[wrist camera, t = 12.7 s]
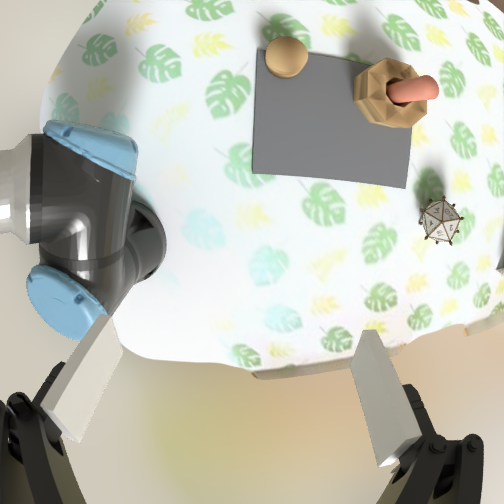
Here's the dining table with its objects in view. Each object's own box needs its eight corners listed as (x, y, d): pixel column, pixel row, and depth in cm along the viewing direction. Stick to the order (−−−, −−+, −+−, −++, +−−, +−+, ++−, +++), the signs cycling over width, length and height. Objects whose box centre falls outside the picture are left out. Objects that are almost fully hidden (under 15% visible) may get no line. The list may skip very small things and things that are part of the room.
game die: (412, 208, 46) (408, 208, 39) (446, 189, 41) (450, 184, 33) (431, 250, 45) (431, 259, 37) (466, 231, 40) (474, 236, 32)
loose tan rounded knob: (264, 77, 35) (265, 70, 30) (265, 45, 32) (266, 35, 28) (302, 80, 35) (307, 74, 30) (303, 48, 32) (308, 38, 28)
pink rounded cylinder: (373, 102, 35) (419, 95, 23) (374, 85, 34) (419, 72, 21) (390, 106, 35) (438, 102, 23) (390, 89, 34) (438, 79, 21)
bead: (352, 119, 37) (366, 117, 31) (354, 61, 33) (367, 52, 27) (406, 131, 37) (425, 132, 31) (408, 76, 33) (426, 71, 27)
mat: (252, 173, 42) (252, 173, 41) (257, 50, 33) (257, 49, 33) (403, 188, 41) (405, 189, 41) (411, 78, 33) (413, 77, 33)
